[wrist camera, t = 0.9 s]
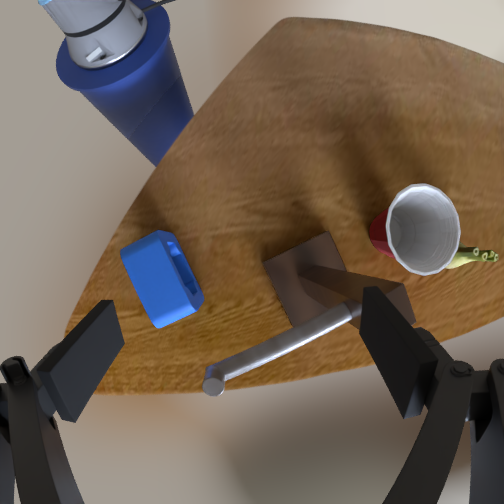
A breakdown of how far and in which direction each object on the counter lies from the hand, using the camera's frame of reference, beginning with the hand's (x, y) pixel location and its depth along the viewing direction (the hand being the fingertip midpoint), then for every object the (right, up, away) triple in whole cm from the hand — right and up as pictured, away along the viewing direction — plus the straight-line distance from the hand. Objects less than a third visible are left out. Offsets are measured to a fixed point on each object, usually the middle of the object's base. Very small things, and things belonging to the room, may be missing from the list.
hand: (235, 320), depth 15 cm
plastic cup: (+21, +6, +28) cm, 35 cm away
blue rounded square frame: (-10, 0, +27) cm, 29 cm away
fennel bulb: (+32, +3, +29) cm, 43 cm away
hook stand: (+5, -2, +27) cm, 28 cm away
